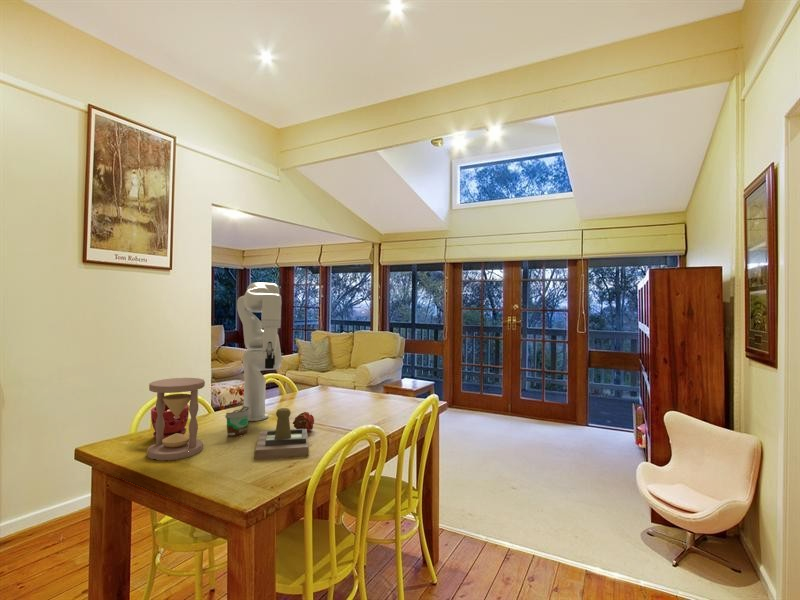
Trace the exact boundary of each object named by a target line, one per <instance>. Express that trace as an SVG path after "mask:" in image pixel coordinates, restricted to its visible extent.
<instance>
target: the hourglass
mask: <svg viewBox="0 0 800 600" xmlns="http://www.w3.org/2000/svg"><path fill="white" fill-rule="evenodd" d="M205 386H206V384H205V380H204V378H199V377H196V378H195V377H176V378H175V377H173V378H164V379H159V380H154V381H151V382H150V383H149V384H148V389H149V391H150V392H153V393H156V402H155V406H156V411H157V415H158V417H157V420H156V423H155V429H156V438H155V443H154V444H151V445H150V446H149V447H148V448H147V453H146V454H147V458H149V459H150V458H151V460H153V459H156V460H155V461H165V460H168V461H174V460H175V461H176V460H182V459H186V458H190V457H193V456H195V455H197V454H199V453H200V452H202V450H203V449H204V442H203V440H201V439H198V438H197V434H198V429H199V424H198V420H197V415H198V411H199V399H198V398H199V397H198V396H199V390H201V389H203V388H204V387H205ZM186 392H187V393H186ZM188 392H190V393H188ZM165 394H167V395H165ZM165 404H166V405H167V406H168V408H169V409H170V410H171V411H172V413H173V414H174V415H175V417H174V418H175V419H179V418H180V416H179V415H180V413H181V412H182V411H183V409H184V408H185V407H186V405H187V404H188V406H189V415H190V420H189V424H188V433H189V435H188V434H187V435H186V434H184V435H183V434H179V433H175V434H173V435H171V436H169V437H166V438H164V439H163V431H164V427H165V422H164V418H163V412H164V409H165ZM170 410H169V411H170ZM188 451H189V452H188Z"/></svg>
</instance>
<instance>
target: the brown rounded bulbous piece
mask: <svg viewBox="0 0 800 600" xmlns="http://www.w3.org/2000/svg"><path fill="white" fill-rule="evenodd" d="M275 415H276V418H277V420H276V427H275V430H276V432H275V439H289V438H291V431H290V429H291V425H290V424H291V423H290V416H291V410H290V408H287V407H282V408H278V409H276V412H275Z"/></svg>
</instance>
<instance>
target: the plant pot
mask: <svg viewBox="0 0 800 600" xmlns="http://www.w3.org/2000/svg"><path fill="white" fill-rule="evenodd" d="M189 415H190V411H189V403H188V404H187V405H186V407H185V408H184V409H183V411H182V412H181V413H180V415H179V416H180V418H179V419H175V418H174V417H175V415H174V414H173V413H172V411H171V410H170V409H169V408H168V406H167V405H166V404H165V409H164V412H163V418H164V422H165V427H164V431H163V439H164V438H166V437H169V436H171V435H173V434H175V433H179V434H183V435H186V432H187V428H186V426H187V424H188V420H189ZM157 417H158V415H157V411H156V405H155V406H153V407H152V408H151V409H150V419H151V425H152V429H153V430H154V431H153V434H152V435H153V437H154V438H155V439H156V429H155V423H156V420H157Z"/></svg>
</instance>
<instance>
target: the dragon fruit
mask: <svg viewBox="0 0 800 600" xmlns="http://www.w3.org/2000/svg"><path fill="white" fill-rule="evenodd" d="M292 424H293V428H294V429H307V431H310V430H311V431H312V430H313V429H314V424H315V419H314V416H313V415H312V414H310V413H309V412H308V411H303V412H301V413H299V414H298V415H297V416H296V417H294V420H293V421H292Z"/></svg>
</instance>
